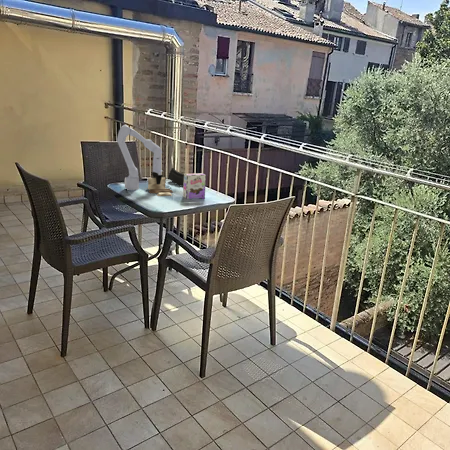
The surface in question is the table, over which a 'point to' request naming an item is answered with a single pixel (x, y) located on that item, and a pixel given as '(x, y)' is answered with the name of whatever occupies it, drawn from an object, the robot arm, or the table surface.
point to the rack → (160, 190)
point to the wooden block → (154, 185)
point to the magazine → (176, 177)
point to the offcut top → (164, 194)
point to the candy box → (194, 185)
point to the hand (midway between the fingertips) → (157, 183)
